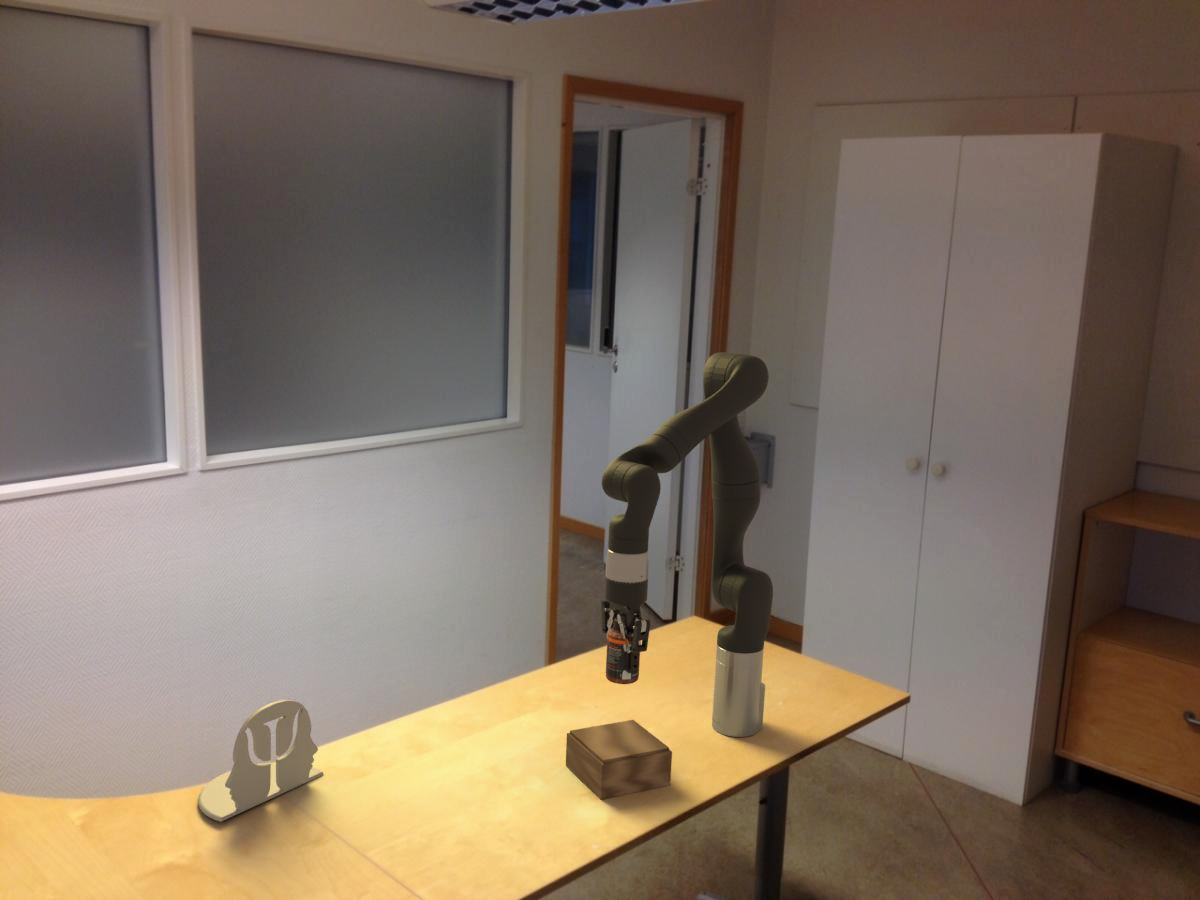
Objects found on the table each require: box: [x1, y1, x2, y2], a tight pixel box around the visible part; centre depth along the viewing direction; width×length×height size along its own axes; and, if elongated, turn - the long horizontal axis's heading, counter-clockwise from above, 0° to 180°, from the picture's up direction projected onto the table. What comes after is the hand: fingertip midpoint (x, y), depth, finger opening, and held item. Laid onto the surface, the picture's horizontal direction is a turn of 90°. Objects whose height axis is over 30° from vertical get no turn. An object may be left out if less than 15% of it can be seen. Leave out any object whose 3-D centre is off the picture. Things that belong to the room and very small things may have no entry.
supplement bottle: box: [605, 617, 641, 685], centre depth 197 cm, size 6×6×11 cm
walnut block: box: [565, 719, 673, 801], centre depth 200 cm, size 14×14×7 cm
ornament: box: [197, 699, 324, 823], centre depth 190 cm, size 22×13×17 cm, turn 146°
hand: (622, 665), depth 197 cm, fingers closed on supplement bottle, 6 cm apart
